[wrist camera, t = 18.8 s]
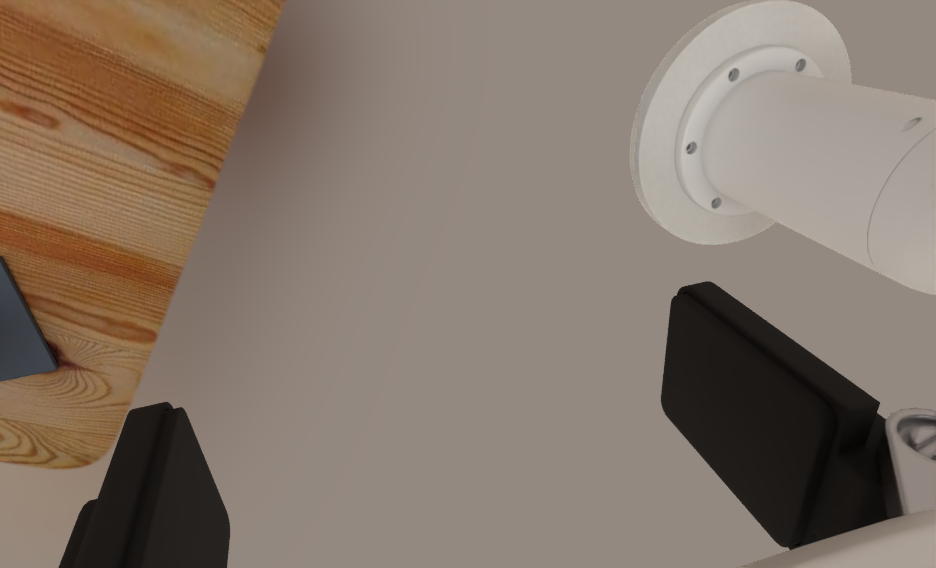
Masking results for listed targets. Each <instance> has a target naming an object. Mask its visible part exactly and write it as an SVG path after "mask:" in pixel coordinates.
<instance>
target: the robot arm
mask: <svg viewBox="0 0 936 568" xmlns="http://www.w3.org/2000/svg"><path fill="white" fill-rule="evenodd" d="M675 167H676V171H677V175H678V180H679V182H680V184H681V186H682V188H683V190H684V192H685V193H686V194H687V195H688V196H689V198H690V199H691V200H692V201H693V202H695V203H696V204H698V205H699V206H700V207H702V208H704V209H706V210H708V211H709V212H712V213H715V214H719V215H723V216H739V215H744V214H749V213H752V212H754V211H756V212H758V213H760V214H762V215H764V216H766V217H768V218H770V219H772V220H774V221H776V222H778V223H781V224H782V225H784V226H786V227H788V228H790V229H792V230H794V231H796V232H798V233H800V234H802V235H804V236H806V237H808V238H810V239H812V240H814V241H816V242H818V243H820V244H822V245H824V246H826V247H828V248H830V249H832V250H834V251H836V252H838V253H840V254H842V255H844V256H846V257H848V258H850V259H852V260H854V261H856V262H858V263H860V264H862V265H864V266H866V267H868V268H870V269H872V270H874V271H876V272H878V273H880V274H882V275H884V276H886V277H888V278H890V279H892V280H894V281H896V282H898V283H900V284H902V285H904V286H907V287H909V288H912V289H914V290H917V291H921V292H924V293H928V294H932V295H936V100H932V99H927V98H922V97H916V96H911V95H906V94H901V93H895V92H890V91H885V90H880V89H875V88H870V87H864V86H859V85H854V84H849V83H844V82H838V81H833V80H828V79H825V78H824V76H823V74H822V72H821V70H820V69H819V67H818V65H817V64H816V63H815V62H814V61H813V60H812V59H811V58H810V57H809V56H808V55H806V54H804V53H802V52H801V51H799V50H796V49H792V48H788V47H783V46H773V45H767V46H760V47H754V48H751V49H749V50H746V51H743V52H740V53H739V54H737V55H735V56H733V57H732V58H730V59H728V60H727V61H725V62H724V63H723V64H722V65H720V66H719V67H718V68H717V69H716V70H714V71H713V72H712V73H711V74H710V75H709V76H708V77H707V79H706V80H705V81H704V82H703V83H702V84H701V85H700V87H699V88H698V90H697V91H696V93H695V94H694V96H693V97H692V99H691V100H690V102H689V104H688V106H687V108H686V110H685V113H684V115H683V117H682V119H681V123H680V126H679V129H678V133H677V138H676V145H675ZM661 403H662V408H663V410H664V412H665V414H666V416H667V417H668V418H669V419H670V420H671V422H672V423H673V424H674V425H675V426H676V427H677V428H678V430H679V431H680V432H681V433H682V434H683V436H684V437H685V438H686V439H687V440H688V441H689V443H690V444H691V445H692V446H693V447H694V448H695V449H696V451H697V452H698V453H699V454H700V455H701V456H702V458H703V459H704V460H705V461H706V462H707V463H708V464H709V466H710V467H711V468H712V469H713V470H714V471H715V472H716V474H717V475H718V476H719V477H720V478H721V479H722V481H723V482H724V483H725V484H726V485H727V486H728V488H729V489H730V490H731V491H732V492H733V493H734V494H735V495H736V497H737V498H738V499H739V500H740V501H741V502H742V504H743V505H744V506H745V507H746V508H747V509H748V511H749V512H750V513H751V514H752V515H753V516H754V517H755V519H756V520H757V521H758V522H759V523H760V524H761V526H762V527H763V528H764V529H765V530H766V531H767V532H768V534H769V535H770V536H771V537H772V538H773V539H774V541H776V543H778V544H779V545H780V546H782V547H788V548H789V549H790V550H789V551H786V552H783V553H780V554H777V555H775V556H772V557H768V558H765V559H763V560H760V561H756V562H753V563H750V564H748V565H744V566H741V567H738V568H936V411H935V410H931V409H921V408H908V409H900V410H898V411H895V412H893V413H891V414H890V416H889V417H888V418H887V419H884V418H883V417H882V416H880V415H879V414H878V413H877V410H878V408H879V404H880V402H879V401H877V400H876V399H874V398H873V397H872V396H870V395H869V394H867V393H866V392H865V391H863V390H862V389H860V388H859V387H858V386H856V385H855V384H854V383H852V382H851V381H849V380H848V379H847V378H845V377H844V376H842V375H841V374H839V373H838V372H837V371H835V370H834V369H833V368H831V367H830V366H828V365H827V364H826V363H824V362H823V361H821V360H820V359H819V358H817V357H816V356H814V355H813V354H812V353H810V352H809V351H807V350H806V349H805V348H803V347H802V346H801V345H799V344H798V343H796V342H795V341H794V340H792V339H791V338H789V337H788V336H787V335H785V334H784V333H782V332H781V331H780V330H778V329H777V328H775V327H774V326H773V325H771V324H770V323H768V322H767V321H766V320H764V319H763V318H762V317H760V316H759V315H757V314H756V313H755V312H753V311H752V310H750V309H749V308H748V307H746V306H745V305H743V304H742V303H740V302H739V301H738V300H736V299H735V298H733V297H732V296H731V295H729V294H728V293H727V292H725V291H724V290H722V289H721V288H720V287H718V286H717V285H716V284H714V283H712V282H702V283H698V284H693V285H688V286H685V287H682V288H680V289H679V291H678V293H677V296H674V297H673V299H672V301H671V309H670V317H669V327H668V337H667V346H666V355H665V365H664V374H663V383H662V393H661ZM229 539H230V523H229V518H228V514H227V511H226V509H225V506H224V504H223V502H222V499H221V497H220V494H219V492H218V489H217V487H216V484H215V482H214V479H213V477H212V475H211V472H210V470H209V467H208V465H207V462H206V460H205V457H204V455H203V453H202V450H201V448H200V445H199V443H198V440H197V438H196V436H195V433H194V431H193V428H192V426H191V423H190V421H189V419H188V416H187V414H186V412H185V410H184V409H183V408H181V407H180V408H176V409H173V407H172V405H171V404H170V403H168V402H163V403H159V404H154V405H150V406H145V407H141V408H136V409H132V410H131V411H129V413H128V415H127V418H126V420H125V423H124V426H123V429H122V432H121V434H120V437H119V440H118V443H117V446H116V448H115V451H114V454H113V457H112V460H111V462H110V465H109V468H108V471H107V474H106V476H105V479H104V482H103V485H102V488H101V491H100V493H99V496H98V499H95V500H91V501H89V502H87V503H86V504H85V505H84V506H83V508H82V510H81V511H80V513H79V516H78V519H77V521H76V524H75V526H74V529H73V531H72V534H71V537H70V539H69V542H68V544H67V547H66V550H65V553H64V555H63V558H62V560H61V563H60V565H59V568H227V560H228V550H229Z"/></svg>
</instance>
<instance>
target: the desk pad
mask: <svg viewBox="0 0 936 568" xmlns="http://www.w3.org/2000/svg"><path fill="white" fill-rule="evenodd" d="M58 367H59V366H58V364H57V362H56V360H55V358H54V357H53V355H52V353H51V351H50V349H49V347H48V345H47V343H46V341H45V339H44V337H43V336H42V334H41V332H40V330H39V328H38V326H37V324H36V322H35V320H34V318H33V316H32V314H31V313H30V311H29V309H28V307H27V305H26V303H25V301H24V299H23V297H22V295H21V293H20V291H19V290H18V288H17V286H16V284H15V282H14V280H13V278H12V276H11V274H10V272H9V270H8V269H7V267H6V265H5V263H4V261H3V259H2V257H0V381H5V380H10V379H15V378H20V377H25V376H30V375H35V374H39V373H44V372H49V371H54V370H57V369H58Z"/></svg>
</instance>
